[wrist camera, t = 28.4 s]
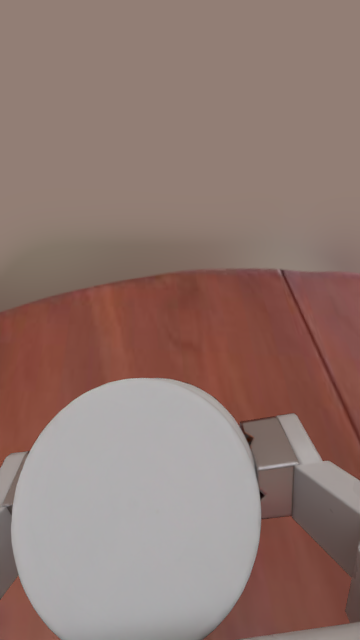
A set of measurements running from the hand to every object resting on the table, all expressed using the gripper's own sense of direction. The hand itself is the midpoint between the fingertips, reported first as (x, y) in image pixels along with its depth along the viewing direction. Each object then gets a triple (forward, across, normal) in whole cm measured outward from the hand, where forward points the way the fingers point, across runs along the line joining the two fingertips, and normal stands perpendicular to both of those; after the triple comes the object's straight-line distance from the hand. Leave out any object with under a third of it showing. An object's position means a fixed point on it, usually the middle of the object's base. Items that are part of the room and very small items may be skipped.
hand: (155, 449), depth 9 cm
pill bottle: (+3, 0, +4) cm, 5 cm away
